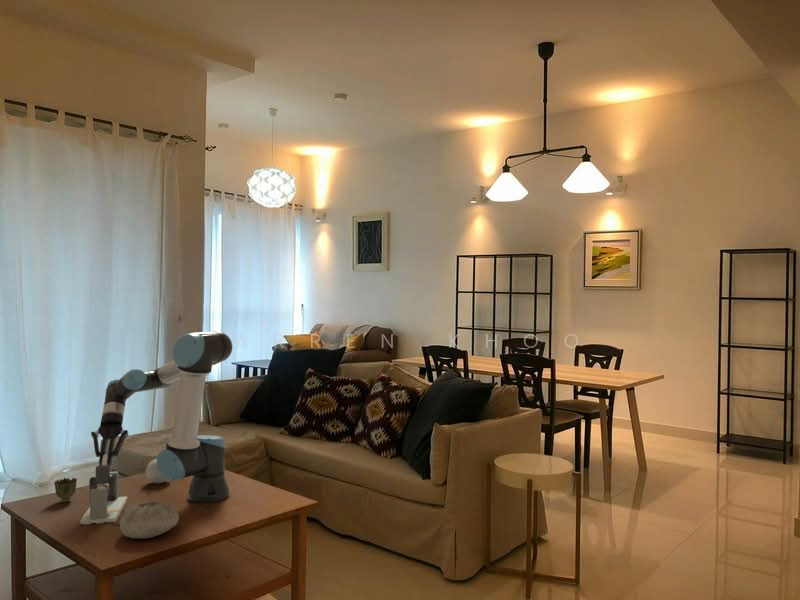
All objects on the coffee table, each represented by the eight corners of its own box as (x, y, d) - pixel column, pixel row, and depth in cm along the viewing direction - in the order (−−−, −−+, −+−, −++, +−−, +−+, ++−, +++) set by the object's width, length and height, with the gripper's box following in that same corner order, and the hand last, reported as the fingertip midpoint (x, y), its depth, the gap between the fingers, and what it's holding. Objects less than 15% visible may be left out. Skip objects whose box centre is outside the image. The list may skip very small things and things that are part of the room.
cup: (81, 498, 242) (81, 477, 242) (69, 505, 235) (69, 483, 235) (62, 498, 243) (62, 477, 243) (50, 504, 236) (49, 482, 235)
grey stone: (134, 523, 216) (134, 494, 216) (186, 524, 216) (186, 494, 216) (109, 544, 199) (109, 512, 198) (165, 545, 198) (165, 513, 198)
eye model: (176, 480, 266) (176, 456, 266) (162, 487, 256) (162, 462, 256) (155, 478, 268) (155, 454, 268) (140, 485, 258) (140, 461, 258)
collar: (91, 499, 225) (91, 466, 225) (116, 498, 227) (115, 464, 227) (89, 502, 222) (89, 468, 222) (114, 500, 224) (114, 466, 224)
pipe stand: (95, 501, 238) (95, 472, 238) (127, 499, 241) (127, 470, 241) (80, 524, 215) (79, 492, 215) (115, 521, 218) (115, 489, 218)
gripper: (132, 421, 248) (124, 476, 232) (95, 423, 244) (85, 479, 228) (129, 410, 242) (121, 466, 226) (92, 412, 239) (81, 468, 223)
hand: (103, 472), depth 227 cm, fingers closed
